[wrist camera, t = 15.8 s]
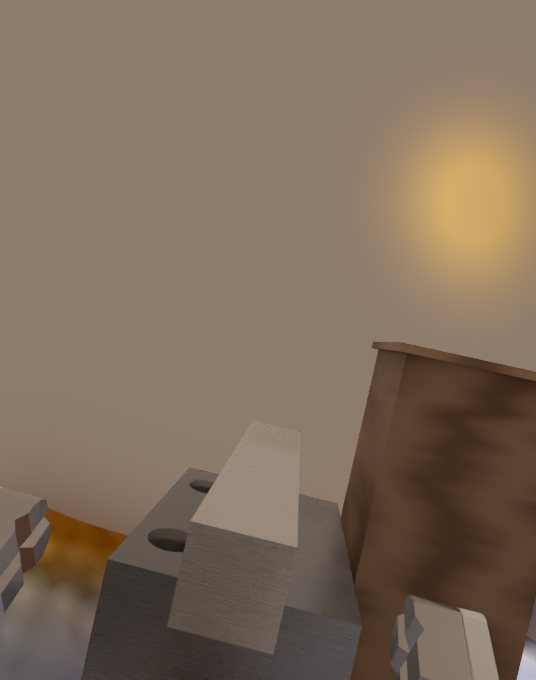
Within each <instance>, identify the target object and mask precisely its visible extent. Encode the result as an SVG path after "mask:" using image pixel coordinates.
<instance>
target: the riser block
mask: <svg viewBox="0 0 536 680" xmlns="http://www.w3.org/2000/svg"><path fill="white" fill-rule="evenodd" d="M218 476H219V474H215V473H211V472H206V471H203V470H198V469H194V468H189V469H188V470H187V471H186V473H185V474H184V475H183V476H182V477H181V478H180V479H179V480H178V481H177V482H176V484H175V485H174V486H173V487H172V488H171V489H170V490H169V491H168V492H167V494H166V495H165V496H164V497H163V498H162V499H161V500H160V501H159V502H158V504H157V505H156V506H155V507H154V508H153V509H152V510H151V511H150V513H149V514H148V515H147V516H146V517H145V518H144V519H143V520H142V521H141V522H140V524H139V525H138V526H137V527H136V528H135V529H134V530H133V531H132V532H131V534H130V535H129V536H128V537H127V538H126V539H125V540H124V541H123V542H122V544H121V545H120V546H119V547H118V548H117V549H116V550H115V551H114V552H113V554H112V555H111V556H110V557H109V558H108V559H107V564H106V569H105V573H104V578H103V582H102V587H101V591H100V596H99V601H98V605H97V610H96V614H95V619H94V623H93V628H92V633H91V637H90V642H89V646H88V651H87V656H86V660H85V665H84V669H83V674H82V678H81V680H350V677H351V673H352V668H353V664H354V659H355V655H356V651H357V646H358V642H359V637H360V633H361V629H362V622H361V617H360V612H359V607H358V602H357V597H356V592H355V587H354V582H353V578H352V573H351V568H350V563H349V558H348V553H347V548H346V543H345V538H344V533H343V528H342V523H341V518H340V513H339V509H338V504H337V503H333V502H329V501H325V500H321V499H317V498H313V497H309V496H305V495H301V494H299V505H298V544H297V552H296V556H295V561H294V565H293V570H292V574H291V578H290V583H289V587H288V592H287V596H286V601H285V605H284V610H283V614H282V619H281V623H280V627H279V632H278V636H277V641H276V645H275V650H274V654H273V655H272V654H268V653H264V652H260V651H257V650H253V649H249V648H245V647H242V646H238V645H234V644H230V643H227V642H223V641H219V640H215V639H212V638H208V637H204V636H200V635H197V634H193V633H189V632H185V631H182V630H178V629H174V628H170V627H167V625H168V620H169V616H170V611H171V607H172V602H173V598H174V593H175V589H176V584H177V580H178V575H179V570H180V566H181V561H182V557H183V552H184V548H185V543H186V539H187V534H188V530H189V525H190V521H191V519H192V518H193V516H194V514H195V513H196V511H197V509H198V508H199V506H200V505H201V503H202V501H203V500H204V498H205V497H206V495H207V493H208V492H209V490H210V489H211V487H212V485H213V484H214V482H215V480H216V479H217V477H218Z"/></svg>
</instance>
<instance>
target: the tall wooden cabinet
mask: <svg viewBox="0 0 536 680" xmlns="http://www.w3.org/2000/svg"><path fill="white" fill-rule="evenodd" d="M372 348H375V349H379V350H378V355H377V359H376V364H375V368H374V373H373V377H372V381H371V386H370V390H369V395H368V399H367V404H366V408H365V412H364V417H363V421H362V426H361V430H360V435H359V439H358V444H357V448H356V453H355V457H354V461H353V466H352V470H351V475H350V479H349V484H348V488H347V492H346V497H345V501H344V506H343V510H342V514H341V523H342V528H343V533H344V538H345V543H346V548H347V553H348V558H349V563H350V568H351V573H352V578H353V582H354V587H355V592H356V597H357V602H358V607H359V612H360V617H361V622H362V629H361V633H360V637H359V642H358V646H357V651H356V655H355V659H354V664H353V668H352V673H351V677H350V680H394V679H395V677H396V675H397V674H396V672H395V671H394V669H393V667H392V665H391V664H390V639H391V634H392V629H393V625H394V623H395V621H396V618H397V616H399V615H402V614H404V602H405V600H406V599H407V597H408V596H410V595H413V596H417V597H421V598H425V599H429V600H433V601H437V602H441V603H446V604H450V605H454V606H456V607H458V608H462V609H466V610H470V611H475V612H479V613H481V614H483V615H484V617H485V618H486V620H487V625H488V630H489V634H490V639H491V644H492V648H493V653H494V658H495V663H496V667H497V672H498V677H499V680H516V679H517V675H518V671H519V666H520V662H521V658H522V653H523V649H524V645H525V640H526V636H527V632H528V627H529V623H530V619H531V615H532V610H533V606H534V602H535V597H536V372H534V371H529V370H525V369H520V368H515V367H511V366H506V365H502V364H497V363H492V362H488V361H483V360H479V359H475V358H470V357H465V356H461V355H456V354H452V353H447V352H442V351H438V350H434V349H428V348H424V347H420V346H415V345H411V344H406V343H400V342H396V343H395V342H373V344H372Z"/></svg>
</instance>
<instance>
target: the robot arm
mask: <svg viewBox="0 0 536 680" xmlns="http://www.w3.org/2000/svg"><path fill="white" fill-rule="evenodd" d="M47 511H48V506H47V500H45V499H41V498H37V497H34V496H30V495H27V494H23V493H19V492H16V491H12V490H9V489H5V488H3V487H0V612H4V613H5V611H6V610H7V608H8V607H9V605H10V604H11V602H12V601H13V599H14V598H15V596H16V595H17V593H18V592H19V590H20V589H21V587H22V586H23V573H24V572H26V571H27V570H29V569H31V568H33V567H34V566H36V564H37V563H38V561H39V560H40V558H41V557H42V555H43V553H44V551H45V548H46V546H47V544H48V541H49V536H50V523H49V522H48V521H47V520H46V519H45V517H44V515H45V514H46V513H47ZM390 664H391V665H392V667H393V669H394V671H395V672H396V674H397V675H396V677H395V679H394V680H499V677H498V672H497V667H496V663H495V658H494V653H493V648H492V644H491V639H490V634H489V630H488V625H487V620H486V618H485V617H484V615H483V614H481V613H479V612H475V611H470V610H466V609H462V608H458V607H456V606H454V605H450V604H446V603H441V602H437V601H433V600H429V599H425V598H421V597H417V596H413V595H410V596H408V597H407V599H406V600H405V602H404V614H402V615H399V616H397V618H396V621H395V623H394V625H393V629H392V634H391V639H390Z"/></svg>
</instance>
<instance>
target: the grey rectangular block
mask: <svg viewBox="0 0 536 680" xmlns="http://www.w3.org/2000/svg"><path fill="white" fill-rule="evenodd" d="M299 463H300V431H296V430H291V429H287V428H283V427H278V426H274V425H270V424H266V423H261V422H257V421H252V422H251V424H250V426H249V427H248V429H247V430H246V432H245V434H244V435H243V437H242V439H241V440H240V442H239V443H238V445H237V447H236V448H235V450H234V452H233V453H232V455H231V456H230V458H229V459H228V461H227V463H226V464H225V466H224V468H223V469H222V471H221V472H220V474H219V476H218V477H217V479H216V480H215V482H214V484H213V485H212V487H211V489H210V490H209V492H208V493H207V495H206V497H205V498H204V500H203V501H202V503H201V505H200V506H199V508H198V509H197V511H196V513H195V514H194V516H193V518H192V519H191V521H190V525H189V530H188V534H187V539H186V543H185V548H184V552H183V557H182V561H181V566H180V570H179V575H178V580H177V584H176V589H175V593H174V598H173V602H172V607H171V611H170V616H169V620H168V625H167V627H170V628H174V629H178V630H182V631H185V632H189V633H193V634H197V635H200V636H204V637H208V638H212V639H215V640H219V641H223V642H227V643H230V644H234V645H238V646H242V647H245V648H249V649H253V650H257V651H260V652H264V653H268V654H272V655H273V654H274V650H275V645H276V641H277V636H278V632H279V627H280V623H281V619H282V614H283V610H284V605H285V601H286V596H287V592H288V587H289V583H290V578H291V574H292V570H293V565H294V561H295V556H296V552H297V544H298V505H299V465H300V464H299Z"/></svg>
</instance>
